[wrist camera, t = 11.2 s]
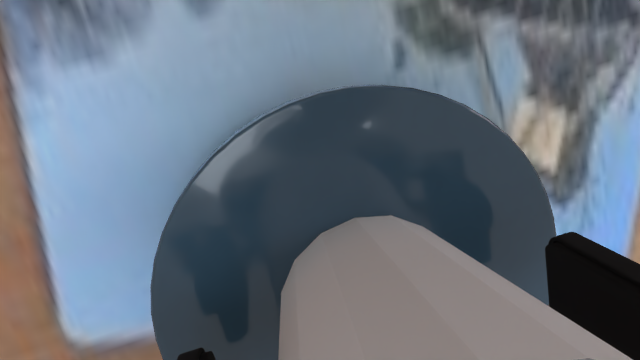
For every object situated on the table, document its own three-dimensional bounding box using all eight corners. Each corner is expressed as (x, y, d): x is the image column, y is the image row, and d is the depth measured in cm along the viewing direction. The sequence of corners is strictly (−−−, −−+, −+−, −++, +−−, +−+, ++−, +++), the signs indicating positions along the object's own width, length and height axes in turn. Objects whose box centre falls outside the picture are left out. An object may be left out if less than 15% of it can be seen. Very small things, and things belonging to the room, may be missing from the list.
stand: (141, 127, 16) (71, 158, 10) (441, 49, 17) (544, 34, 11) (237, 379, 19) (229, 513, 13) (477, 301, 20) (568, 393, 15)
